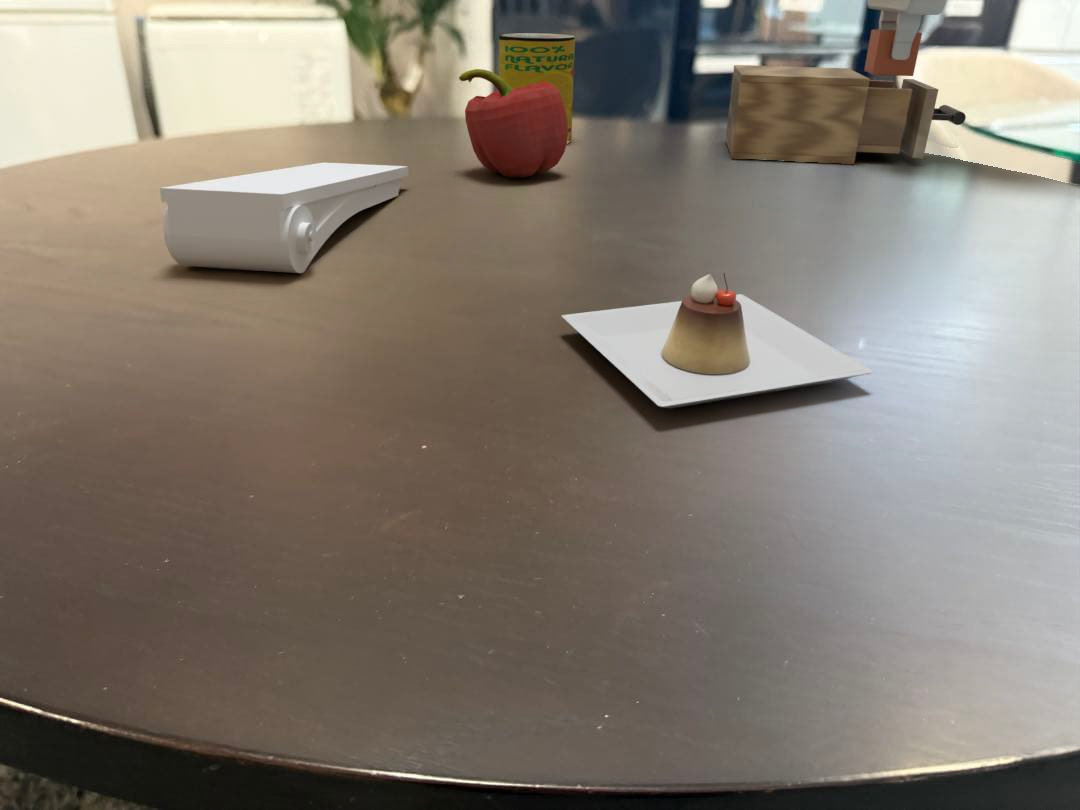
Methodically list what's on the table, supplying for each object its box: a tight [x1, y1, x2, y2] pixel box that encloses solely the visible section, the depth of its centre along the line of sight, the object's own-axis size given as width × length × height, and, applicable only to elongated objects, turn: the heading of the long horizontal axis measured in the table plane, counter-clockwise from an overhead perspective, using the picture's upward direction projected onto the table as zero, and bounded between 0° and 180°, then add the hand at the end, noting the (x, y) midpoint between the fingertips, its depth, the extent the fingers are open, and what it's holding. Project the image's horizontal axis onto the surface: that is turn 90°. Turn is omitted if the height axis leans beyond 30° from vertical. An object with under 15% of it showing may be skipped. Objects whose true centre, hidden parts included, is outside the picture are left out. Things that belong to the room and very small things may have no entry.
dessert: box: [561, 272, 874, 409], centre depth 44 cm, size 12×12×5 cm
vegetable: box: [458, 68, 568, 178], centre depth 84 cm, size 11×10×10 cm
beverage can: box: [498, 32, 576, 141], centre depth 101 cm, size 9×9×12 cm
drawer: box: [856, 78, 967, 159], centre depth 97 cm, size 17×10×7 cm, turn 82°
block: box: [863, 29, 923, 77], centre depth 94 cm, size 4×4×4 cm
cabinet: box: [724, 64, 871, 165], centre depth 98 cm, size 14×12×9 cm
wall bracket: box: [159, 161, 409, 274], centre depth 67 cm, size 10×7×28 cm
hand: (891, 57), depth 94 cm, fingers closed on block, 4 cm apart
